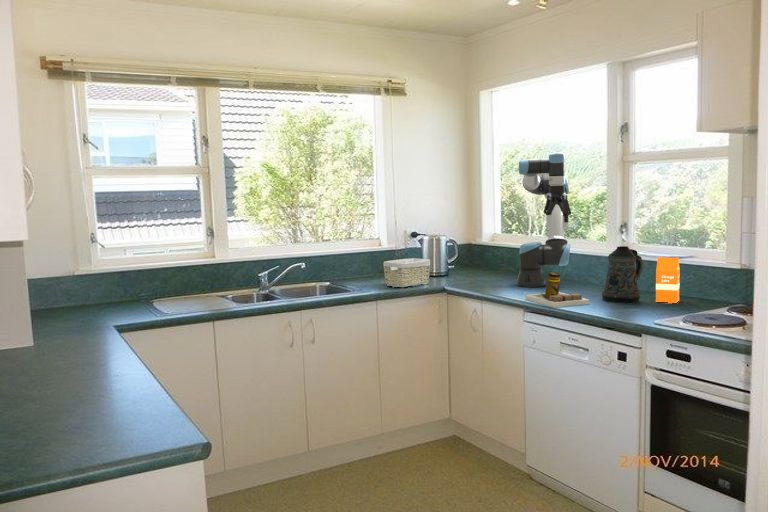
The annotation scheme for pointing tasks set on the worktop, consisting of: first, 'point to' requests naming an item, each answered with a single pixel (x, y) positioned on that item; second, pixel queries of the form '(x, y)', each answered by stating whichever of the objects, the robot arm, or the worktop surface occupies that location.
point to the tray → (556, 304)
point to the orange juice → (667, 280)
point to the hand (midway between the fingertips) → (557, 228)
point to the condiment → (551, 285)
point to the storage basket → (406, 272)
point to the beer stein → (623, 276)
